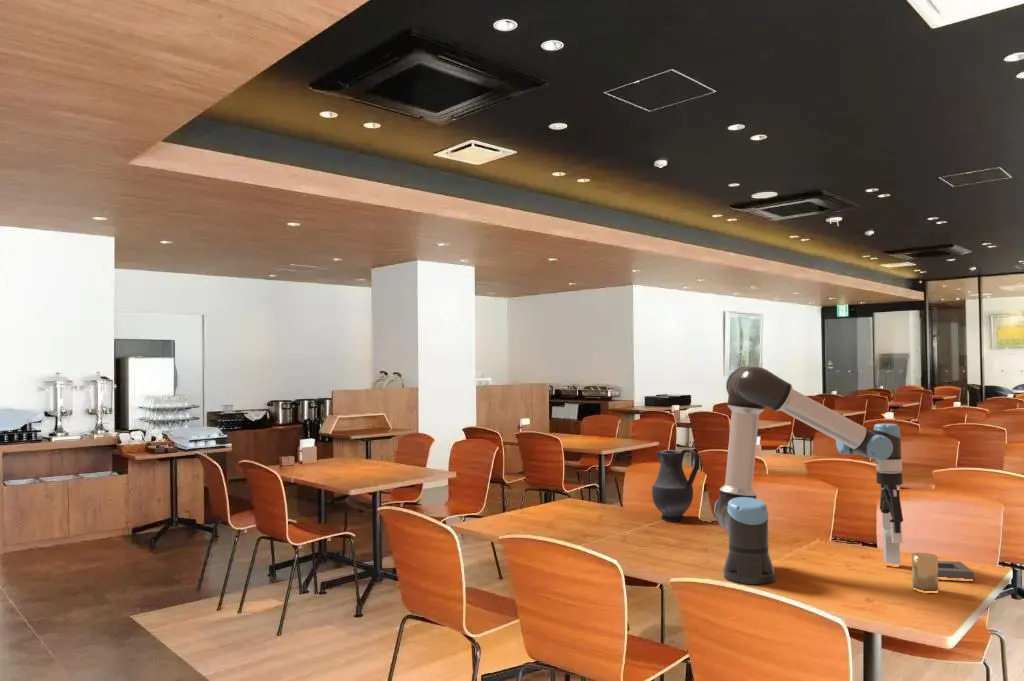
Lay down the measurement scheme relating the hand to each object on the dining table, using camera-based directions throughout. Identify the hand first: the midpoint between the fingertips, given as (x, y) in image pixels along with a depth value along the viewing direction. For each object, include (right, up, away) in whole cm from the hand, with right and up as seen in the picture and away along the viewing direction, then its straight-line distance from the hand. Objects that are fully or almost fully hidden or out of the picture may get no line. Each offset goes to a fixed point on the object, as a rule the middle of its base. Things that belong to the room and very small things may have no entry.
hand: (892, 538), depth 242 cm
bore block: (+10, -8, -12) cm, 18 cm away
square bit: (0, -9, 0) cm, 9 cm away
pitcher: (-52, -12, +76) cm, 94 cm away
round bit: (-4, -8, -27) cm, 29 cm away
